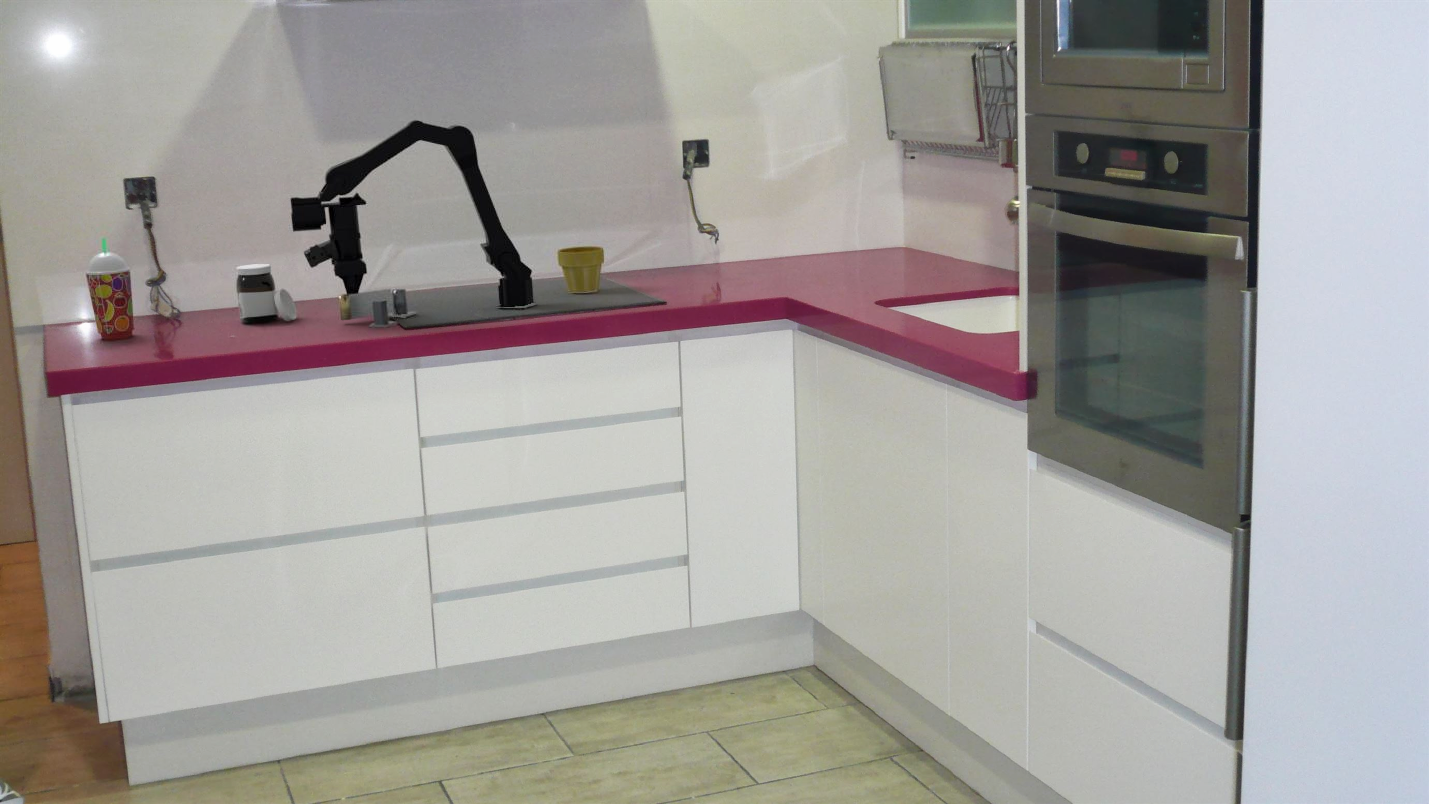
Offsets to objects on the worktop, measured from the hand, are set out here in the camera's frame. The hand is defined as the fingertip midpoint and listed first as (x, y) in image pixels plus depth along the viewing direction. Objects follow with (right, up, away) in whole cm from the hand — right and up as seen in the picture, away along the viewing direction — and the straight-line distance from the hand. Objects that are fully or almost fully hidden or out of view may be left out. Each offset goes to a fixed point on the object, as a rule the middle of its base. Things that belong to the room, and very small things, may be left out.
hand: (352, 303), depth 292 cm
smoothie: (-45, -8, -7) cm, 47 cm away
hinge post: (+9, -2, +5) cm, 10 cm away
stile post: (+7, -5, -6) cm, 11 cm away
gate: (+3, -3, 0) cm, 4 cm away
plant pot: (+45, +4, +26) cm, 52 cm away
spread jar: (-19, -4, +5) cm, 20 cm away
